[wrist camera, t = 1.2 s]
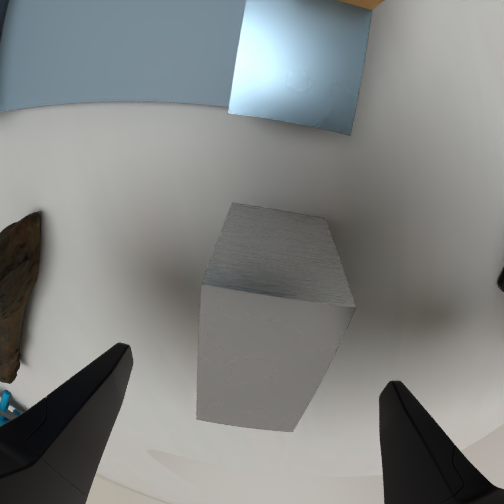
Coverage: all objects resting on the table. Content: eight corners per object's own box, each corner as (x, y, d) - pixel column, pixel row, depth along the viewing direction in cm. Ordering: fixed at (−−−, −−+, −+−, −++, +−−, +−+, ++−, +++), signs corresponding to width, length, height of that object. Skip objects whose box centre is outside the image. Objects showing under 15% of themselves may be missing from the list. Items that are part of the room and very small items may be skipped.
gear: (-22, 390, 27) (-40, 418, 18) (-13, 361, 29) (-33, 385, 20) (36, 427, 31) (30, 462, 23) (47, 400, 33) (40, 432, 24)
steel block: (325, 218, 13) (355, 307, 7) (290, 335, 16) (292, 432, 11) (232, 202, 13) (201, 284, 7) (218, 324, 16) (196, 419, 11)
